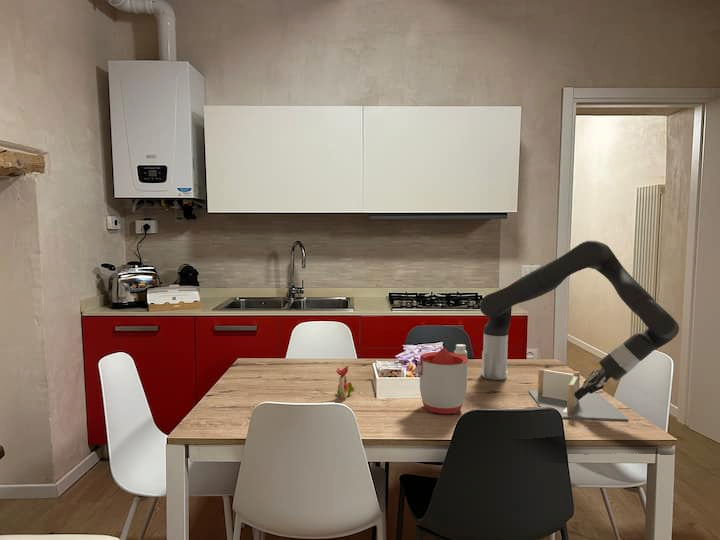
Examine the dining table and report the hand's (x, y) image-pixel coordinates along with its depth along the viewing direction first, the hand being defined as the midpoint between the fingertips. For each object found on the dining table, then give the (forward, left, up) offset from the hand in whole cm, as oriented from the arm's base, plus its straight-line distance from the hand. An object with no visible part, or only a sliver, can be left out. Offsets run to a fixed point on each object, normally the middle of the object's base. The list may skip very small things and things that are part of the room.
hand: (575, 396), depth 165 cm
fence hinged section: (0, +3, -4) cm, 6 cm away
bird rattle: (-75, +8, -6) cm, 75 cm away
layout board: (+2, +7, -5) cm, 9 cm away
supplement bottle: (-31, +50, -6) cm, 59 cm away
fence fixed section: (-2, +13, -5) cm, 14 cm away
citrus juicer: (-43, 0, -6) cm, 43 cm away
